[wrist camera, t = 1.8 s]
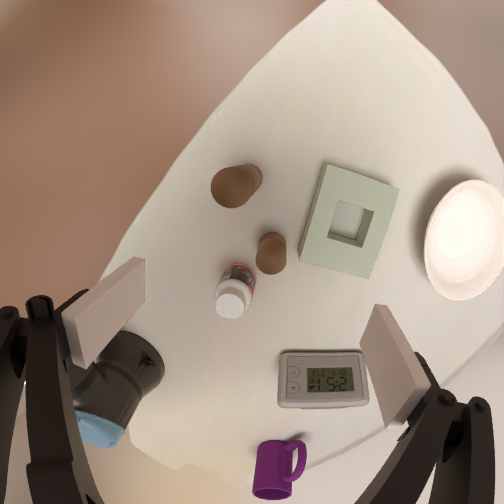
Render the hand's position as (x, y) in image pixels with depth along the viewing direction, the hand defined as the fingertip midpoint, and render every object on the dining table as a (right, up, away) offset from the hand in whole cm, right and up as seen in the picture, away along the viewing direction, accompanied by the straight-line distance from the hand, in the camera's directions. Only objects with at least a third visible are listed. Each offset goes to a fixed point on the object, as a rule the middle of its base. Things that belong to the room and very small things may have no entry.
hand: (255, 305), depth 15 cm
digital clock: (+13, -18, +35) cm, 42 cm away
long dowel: (-1, +14, +26) cm, 29 cm away
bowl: (+35, +6, +25) cm, 43 cm away
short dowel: (+3, +4, +29) cm, 29 cm away
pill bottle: (-2, -1, +31) cm, 32 cm away
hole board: (+14, +8, +26) cm, 31 cm away
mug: (+8, -46, +45) cm, 65 cm away
